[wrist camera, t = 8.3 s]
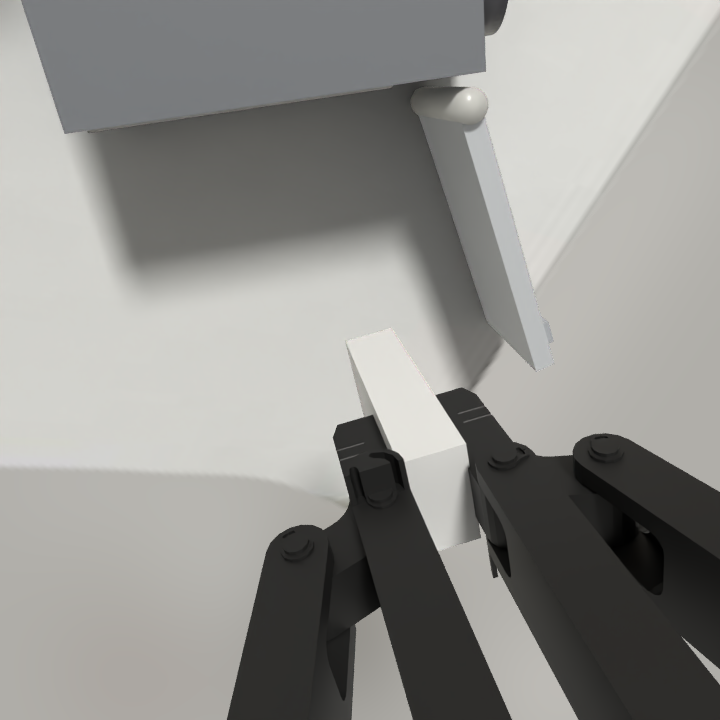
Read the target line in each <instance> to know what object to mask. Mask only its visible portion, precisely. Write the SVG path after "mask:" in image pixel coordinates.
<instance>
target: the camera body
mask: <svg viewBox="0 0 720 720" xmlns="http://www.w3.org/2000/svg"><path fill="white" fill-rule="evenodd" d="M21 1H22V5H23V8H24V11H25V14H26V17H27V20H28V23H29V26H30V29H31V32H32V35H33V38H34V41H35V44H36V47H37V50H38V54H39V57H40V60H41V63H42V66H43V69H44V72H45V75H46V78H47V81H48V84H49V87H50V90H51V93H52V96H53V100H54V103H55V106H56V109H57V112H58V115H59V118H60V121H61V124H62V127H63V130H64V133H65V134H67V133H73V132H80V131H87V132H88V133H92V132H99V131H105V130H112V129H119V128H125V127H132V126H139V125H146V124H152V123H159V122H166V121H173V120H179V119H186V118H193V117H200V116H206V115H213V114H220V113H227V112H233V111H240V110H247V109H254V108H260V107H267V106H274V105H281V104H287V103H294V102H301V101H308V100H314V99H321V98H328V97H334V96H341V95H348V94H355V93H361V92H368V91H375V90H382V89H388V88H392V85H398V84H405V83H411V82H418V81H425V80H432V79H438V78H445V77H452V76H459V75H466V74H472V73H479V72H486V60H485V36H487V35H492V34H494V33H496V32H497V30H498V29H499V27H500V26H501V24H502V21H503V19H504V15H505V12H506V8H507V3H508V0H21Z"/></svg>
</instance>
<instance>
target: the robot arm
mask: <svg viewBox="0 0 720 720" xmlns="http://www.w3.org/2000/svg"><path fill="white" fill-rule="evenodd" d="M345 342H346V346H347V350H348V354H349V358H350V362H351V366H352V370H353V374H354V378H355V382H356V386H357V390H358V394H359V398H360V402H361V406H362V410H363V414H364V417H363V418H360V419H357V420H353V421H350V422H346V423H343V424H339V425H337V428H336V430H335V433H334V436H333V440H334V443H335V447H336V450H337V454H338V458H339V461H340V465H341V468H342V472H343V475H344V479H345V483H346V486H347V490H348V493H349V499H350V502H349V506H348V509H347V510H346V512H345V514H344V515H343V516H342V517H341V518H340V519H339V520H338V521H337V522H336V523H334V524H333V525H331V526H330V527H328V528H326V529H325V530H322V529H321V528H319V527H316V526H313V525H299V526H295V527H292V528H289V529H287V530H285V531H284V532H282V533H280V534H279V535H278V536H277V537H276V538H275V539H274V540H273V541H272V542H271V543H270V545H269V547H268V550H267V552H266V556H265V560H264V564H263V568H262V572H261V577H260V581H259V585H258V590H257V594H256V598H255V603H254V607H253V611H252V616H251V620H250V623H249V628H248V632H247V636H246V640H245V645H244V649H243V653H242V658H241V662H240V666H239V670H238V675H237V679H236V683H235V688H234V692H233V696H232V700H231V705H230V709H229V713H228V717H227V720H351V716H352V697H353V678H354V659H355V638H356V627H355V624H356V623H357V622H359V621H360V620H361V619H363V618H364V617H366V616H367V615H369V614H370V613H372V612H373V611H375V610H376V609H378V608H379V607H381V609H382V613H383V616H384V620H385V623H386V627H387V630H388V634H389V637H390V641H391V644H392V648H393V651H394V655H395V658H396V662H397V665H398V669H399V672H400V676H401V679H402V683H403V686H404V689H405V693H406V697H407V700H408V704H409V707H410V711H411V714H412V717H413V720H512V719H511V717H510V714H509V712H508V710H507V708H506V705H505V703H504V701H503V699H502V696H501V694H500V691H499V689H498V687H497V685H496V683H495V680H494V678H493V676H492V673H491V671H490V669H489V667H488V664H487V662H486V660H485V657H484V655H483V653H482V651H481V648H480V646H479V644H478V641H477V639H476V637H475V635H474V632H473V630H472V628H471V626H470V623H469V621H468V619H467V616H466V614H465V612H464V610H463V607H462V605H461V603H460V601H459V598H458V596H457V594H456V592H455V589H454V587H453V585H452V582H451V581H450V578H449V576H448V573H447V571H446V569H445V566H444V564H443V562H442V560H441V557H440V555H439V553H438V551H440V550H444V549H446V548H450V547H453V546H456V545H459V544H463V543H466V542H469V541H472V540H476V539H479V538H481V535H480V529H479V523H480V525H481V527H482V529H483V530H484V532H485V534H486V538H487V545H488V552H489V558H490V565H491V571H492V575H493V578H495V577H498V574H497V569H498V571H499V572H500V574H501V576H502V578H503V580H504V582H505V584H506V585H507V587H508V589H509V591H510V593H511V595H512V597H513V599H514V600H515V602H516V604H517V606H518V608H519V610H520V612H521V613H522V615H523V617H524V619H525V621H526V623H527V624H528V626H529V628H530V630H531V632H532V634H533V636H534V637H535V639H536V641H537V643H538V645H539V647H540V649H541V651H542V653H543V654H544V656H545V658H546V660H547V662H548V664H549V665H550V667H551V669H552V671H553V673H554V675H555V677H556V678H557V680H558V682H559V684H560V686H561V688H562V690H563V691H564V693H565V695H566V697H567V699H568V701H569V703H570V705H571V706H572V708H573V710H574V712H575V714H576V716H577V718H578V719H579V720H720V685H719V683H718V682H717V681H716V680H715V678H714V677H713V676H712V675H711V673H710V672H709V671H708V670H707V668H706V667H705V666H704V665H703V663H702V662H701V661H700V660H699V658H698V657H697V656H696V655H695V653H694V652H693V651H692V650H691V648H690V647H689V646H688V645H687V643H686V642H685V641H684V640H683V638H684V639H685V640H686V641H688V642H689V643H690V644H691V645H692V646H693V647H694V648H696V649H697V650H698V651H699V652H700V653H702V654H703V655H704V656H705V657H706V658H707V659H709V660H710V661H711V662H712V663H713V664H714V665H716V666H717V667H718V668H719V669H720V492H719V491H717V490H715V489H714V488H711V487H710V486H708V485H707V484H705V483H703V482H702V481H699V480H698V479H696V478H694V477H693V476H691V475H689V474H688V473H686V472H684V471H683V470H681V469H679V468H677V467H675V466H674V465H672V464H670V463H669V462H667V461H665V460H663V459H662V458H660V457H658V456H656V455H655V454H653V453H651V452H649V451H648V450H646V449H644V448H643V447H641V446H639V445H637V444H636V443H634V442H632V441H631V440H629V439H626V438H624V437H621V436H618V435H612V434H606V433H605V434H593V435H591V436H587V437H584V438H582V439H581V440H580V441H578V442H577V443H576V444H575V446H574V449H573V455H569V456H555V457H542V456H537V455H535V453H534V452H533V451H532V450H530V449H529V448H528V447H527V446H525V445H522V444H519V443H516V442H513V441H512V440H511V439H510V438H509V436H508V435H507V434H506V432H505V431H504V430H503V429H502V428H501V426H500V425H499V423H498V422H497V421H496V419H495V418H494V417H493V416H492V415H491V414H490V412H489V410H488V409H487V408H486V407H485V406H484V404H483V403H482V402H481V400H480V399H479V397H478V396H477V395H476V394H474V393H472V392H470V391H468V390H466V389H464V388H458V389H455V390H452V391H448V392H445V393H441V394H438V395H435V394H434V393H433V391H432V390H431V388H430V387H429V385H428V383H427V382H426V380H425V379H424V377H423V376H422V374H421V372H420V371H419V369H418V368H417V366H416V365H415V363H414V362H413V360H412V358H411V357H410V355H409V354H408V352H407V351H406V349H405V348H404V346H403V344H402V343H401V341H400V340H399V338H398V337H397V335H396V333H395V332H394V330H393V329H392V328H389V329H386V330H382V331H379V332H375V333H371V334H368V335H364V336H361V337H357V338H354V339H350V340H346V341H345ZM681 636H682V637H683V638H682V637H681Z"/></svg>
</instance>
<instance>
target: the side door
mask: <svg viewBox="0 0 720 720" xmlns="http://www.w3.org/2000/svg"><path fill="white" fill-rule="evenodd" d="M411 108H412V110H413V111H414V112H415V113H416V114H417V115H419V118H420V121H421V124H422V127H423V130H424V133H425V136H426V139H427V142H428V145H429V148H430V151H431V154H432V157H433V160H434V163H435V166H436V169H437V172H438V175H439V178H440V181H441V184H442V187H443V191H444V194H445V197H446V200H447V203H448V206H449V209H450V212H451V215H452V218H453V221H454V224H455V227H456V230H457V233H458V236H459V239H460V242H461V245H462V248H463V251H464V254H465V257H466V260H467V263H468V266H469V269H470V272H471V275H472V278H473V281H474V284H475V287H476V290H477V293H478V296H479V299H480V302H481V305H482V308H483V311H484V314H485V317H486V320H487V323H488V324H489V325H490V326H491V327H492V328H493V329H494V330H495V331H496V332H497V333H498V334H499V335H500V336H501V337H502V338H503V339H504V340H505V341H506V342H507V343H508V344H509V345H510V346H511V347H512V348H513V349H514V350H515V351H516V352H517V353H518V354H519V355H520V356H521V357H522V358H523V359H524V360H525V361H526V362H527V363H528V364H529V365H530V366H531V367H532V368H533V369H534V370H535V371H536V372H537V371H539V370H541V369H544V368H546V367H548V366H550V365H553V364H554V360H553V357H552V353H551V350H550V346H549V343H551V342H553V337H552V334H551V330H550V326H549V323H548V321H547V320H545V319H544V318H543V317H542V316H541V314H540V311H539V307H538V304H537V300H536V296H535V293H534V289H533V286H532V282H531V279H530V275H529V272H528V268H527V265H526V261H525V257H524V254H523V250H522V247H521V243H520V240H519V236H518V233H517V229H516V225H515V222H514V218H513V215H512V211H511V208H510V204H509V201H508V197H507V194H506V190H505V186H504V183H503V179H502V176H501V172H500V169H499V165H498V162H497V158H496V155H495V151H494V147H493V144H492V140H491V137H490V133H489V130H488V126H487V123H486V119H485V115H486V113H487V110H488V99H487V96H486V94H485V93H484V92H483V91H482V90H481V89H479V88H476V87H420V88H418V89H416V90H415V91H414V93H413V94H412V97H411Z"/></svg>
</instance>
